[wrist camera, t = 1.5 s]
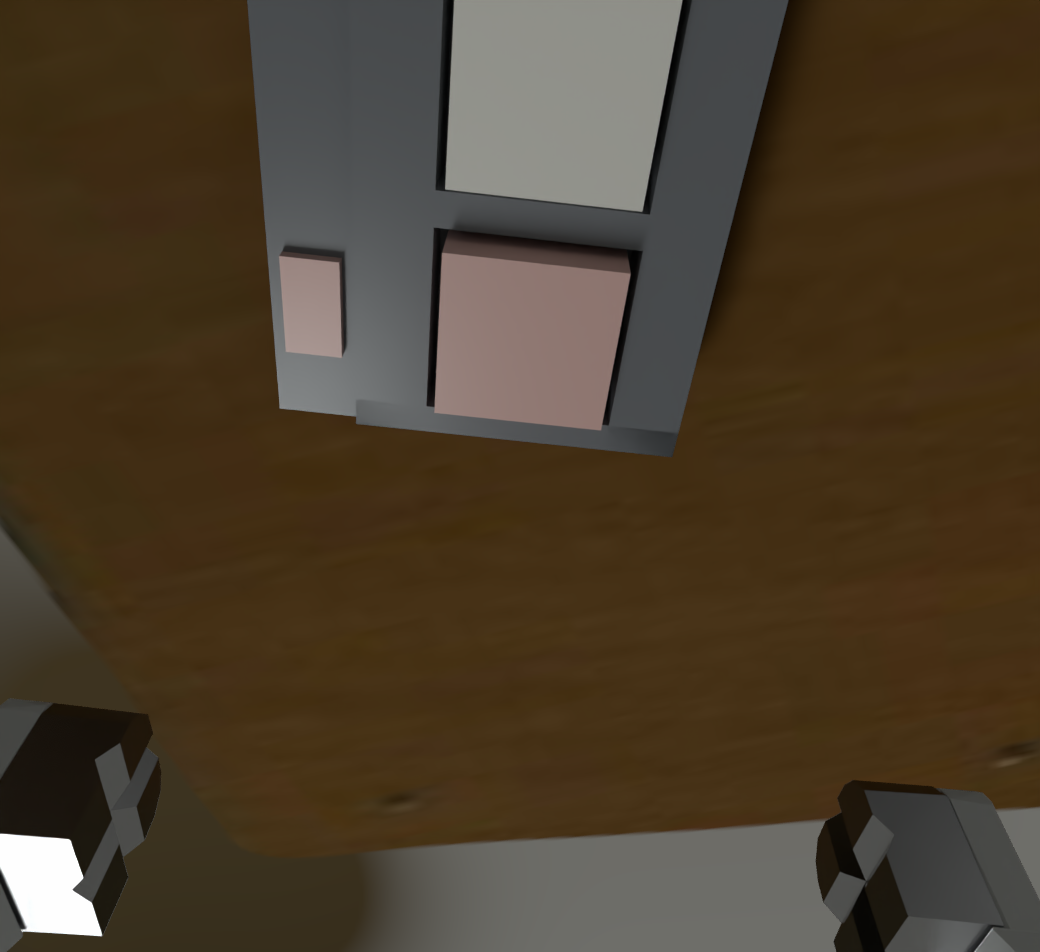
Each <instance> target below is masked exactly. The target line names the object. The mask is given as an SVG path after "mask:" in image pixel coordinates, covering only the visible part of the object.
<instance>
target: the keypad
mask: <svg viewBox="0 0 1040 952" xmlns="http://www.w3.org/2000/svg"><path fill="white" fill-rule="evenodd" d="M247 3H248V15H249V28H250V40H251V53H252V65H253V78H254V90H255V103H256V115H257V128H258V140H259V153H260V165H261V178H262V190H263V203H264V215H265V228H266V240H267V253H268V265H269V278H270V290H271V303H272V315H273V328H274V340H275V353H276V366H277V378H278V391H279V403H280V408H282V409H292V410H301V411H311V412H320V413H330V414H339V415H349V416H356V424H363V425H373V426H382V427H392V428H401V429H411V430H420V431H430V432H439V433H449V434H458V435H468V436H477V437H487V438H496V439H506V440H515V441H525V442H534V443H544V444H553V445H563V446H572V447H582V448H591V449H601V450H610V451H620V452H629V453H639V454H648V455H658V456H667V457H672V455H673V451H674V447H675V444H676V440H677V436H678V432H679V428H680V424H681V420H682V416H683V412H684V408H685V404H686V400H687V396H688V393H689V389H690V385H691V381H692V377H693V373H694V369H695V365H696V361H697V357H698V353H699V349H700V345H701V342H702V338H703V334H704V330H705V326H706V322H707V318H708V314H709V310H710V306H711V302H712V298H713V294H714V290H715V287H716V283H717V279H718V275H719V271H720V267H721V263H722V259H723V255H724V251H725V247H726V243H727V239H728V236H729V232H730V228H731V224H732V220H733V216H734V212H735V208H736V204H737V200H738V196H739V192H740V188H741V185H742V181H743V177H744V173H745V169H746V165H747V161H748V157H749V153H750V149H751V145H752V141H753V137H754V134H755V130H756V126H757V122H758V118H759V114H760V110H761V106H762V102H763V98H764V94H765V90H766V86H767V83H768V79H769V75H770V71H771V67H772V63H773V59H774V55H775V51H776V47H777V43H778V39H779V35H780V31H781V28H782V24H783V20H784V16H785V12H786V8H787V4H788V0H682V5H681V10H680V16H679V21H678V26H677V31H676V37H675V42H674V47H673V53H672V58H671V63H670V68H669V74H668V79H667V84H666V90H665V95H664V100H663V105H662V111H661V116H660V121H659V127H658V132H657V137H656V142H655V148H654V153H653V158H652V164H651V169H650V174H649V179H648V185H647V190H646V195H645V201H644V206H643V211H642V212H640V211H631V210H622V209H613V208H604V207H596V206H587V205H578V204H569V203H560V202H552V201H543V200H534V199H525V198H516V197H508V196H499V195H490V194H481V193H472V192H463V191H455V190H446V189H445V181H446V161H447V140H448V119H449V98H450V77H451V57H452V36H453V15H454V0H247ZM449 230H456V231H465V232H474V233H483V234H492V235H501V236H510V237H518V238H527V239H536V240H545V241H554V242H563V243H572V244H581V245H590V246H599V247H608V248H616V249H625V250H627V254H628V260H629V267H630V273H631V274H630V280H629V285H628V290H627V296H626V301H625V306H624V311H623V317H622V322H621V327H620V333H619V338H618V343H617V348H616V354H615V359H614V364H613V370H612V375H611V380H610V385H609V391H608V396H607V401H606V407H605V412H604V417H603V422H602V428H601V430H591V429H582V428H573V427H563V426H554V425H544V424H535V423H525V422H516V421H506V420H497V419H488V418H478V417H469V416H459V415H450V414H440V413H434V410H435V390H436V369H437V348H438V327H439V306H440V286H441V265H442V251H443V248H444V244H445V241H446V238H447V234H448V231H449Z"/></svg>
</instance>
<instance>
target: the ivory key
mask: <svg viewBox="0 0 1040 952" xmlns="http://www.w3.org/2000/svg"><path fill="white" fill-rule="evenodd" d="M681 5H682V0H454V15H453V36H452V57H451V77H450V98H449V119H448V140H447V161H446V181H445V189H446V190H455V191H463V192H472V193H481V194H490V195H499V196H508V197H516V198H525V199H534V200H543V201H552V202H560V203H569V204H578V205H587V206H596V207H604V208H613V209H622V210H631V211H640V212H642V211H643V206H644V201H645V195H646V190H647V185H648V179H649V174H650V169H651V164H652V158H653V153H654V148H655V142H656V137H657V132H658V127H659V121H660V116H661V111H662V105H663V100H664V95H665V90H666V84H667V79H668V74H669V68H670V63H671V58H672V53H673V47H674V42H675V37H676V31H677V26H678V21H679V16H680V10H681Z"/></svg>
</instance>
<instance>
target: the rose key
mask: <svg viewBox="0 0 1040 952" xmlns="http://www.w3.org/2000/svg"><path fill="white" fill-rule="evenodd" d="M630 274H631V273H630V267H629V260H628V254H627V250H625V249H616V248H608V247H599V246H590V245H581V244H572V243H563V242H554V241H545V240H536V239H527V238H518V237H510V236H501V235H492V234H483V233H474V232H465V231H456V230H449V231H448V234H447V238H446V241H445V244H444V248H443V251H442V265H441V286H440V306H439V327H438V348H437V369H436V390H435V410H434V413H440V414H450V415H459V416H469V417H478V418H488V419H497V420H506V421H516V422H525V423H535V424H544V425H554V426H563V427H573V428H582V429H591V430H601V428H602V422H603V417H604V412H605V407H606V401H607V396H608V391H609V385H610V380H611V375H612V370H613V364H614V359H615V354H616V348H617V343H618V338H619V333H620V327H621V322H622V317H623V311H624V306H625V301H626V296H627V290H628V285H629V280H630Z"/></svg>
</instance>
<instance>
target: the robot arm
mask: <svg viewBox="0 0 1040 952" xmlns="http://www.w3.org/2000/svg"><path fill="white" fill-rule="evenodd" d="M152 734H153V731H152V727H151V724H150V720H149V716H148V714H142V713H133V712H125V711H116V710H108V709H99V708H91V707H82V706H74V705H66V704H57V703H50V702H39V701H30V700H20V699H10V698H9V699H8V700H7V701H5V702H4V703H3V704H2V705H0V952H7V950H9V949H10V948H11V947H12V946H13V945H14V944H15V943H16V942H17V941H18V940H20V939H21V938H22V937H23V933H22V931H29V932H46V933H62V934H63V933H64V934H79V935H96V936H102V935H103V934H104V931H105V929H106V927H107V925H108V922H109V920H110V917H111V915H112V913H113V911H114V909H115V906H116V904H117V902H118V900H119V897H120V895H121V893H122V891H123V888H124V886H125V884H126V882H127V879H128V874H127V871H126V867H125V863H124V860H123V857H124V856H125V855H126V854H128V853H129V852H130V851H131V850H133V849H134V848H135V847H136V846H138V845H139V844H140V843H142V842H143V841H144V840H145V838H146V836H147V833H148V830H149V828H150V826H151V823H152V821H153V818H154V816H155V812H156V808H157V804H158V799H159V795H160V791H161V768H160V763H159V758H158V757H157V756H156V755H154V754H153V753H152V752H151V751H150V750H149V749H148V748H146V747H147V745H148V743H149V740H150V738H151V736H152ZM837 799H838V802H839V805H840V809H841V813H839V814H837V815H836V816H834V817H832V818H830V819H828V820H827V821H825V824H824V826H823V828H822V830H821V833H820V835H819V837H818V842H817V853H816V869H817V878H818V883H819V887H820V891H821V895H822V899H823V903H824V904H825V905H826V906H827V907H828V908H829V909H830V910H831V912H832V913H833V914H834V915H835V916H836V917H837V918H838V919H839V921H840V922H841V926H840V928H839V930H838V932H837V934H836V937H835V939H834V945H835V949H836V952H1040V900H1039V898H1038V896H1037V894H1036V892H1035V890H1034V888H1033V886H1032V884H1031V882H1030V880H1029V878H1028V875H1027V873H1026V871H1025V869H1024V867H1023V865H1022V863H1021V861H1020V859H1019V857H1018V855H1017V853H1016V851H1015V849H1014V847H1013V845H1012V843H1011V841H1010V839H1009V836H1008V834H1007V833H1006V830H1005V828H1004V826H1003V824H1002V822H1001V820H1000V818H999V816H998V814H997V812H996V810H995V808H994V806H993V804H992V802H991V801H990V800H989V799H988V798H987V797H986V796H985V795H984V794H983V793H981V792H975V791H965V790H953V789H940V788H934V787H932V786H921V785H908V784H896V783H883V782H871V781H858V780H852V781H851V782H849V783H847V784H845V785H844V787H843V789H842V791H841V792H840V794H839V796H838V798H837Z"/></svg>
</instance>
